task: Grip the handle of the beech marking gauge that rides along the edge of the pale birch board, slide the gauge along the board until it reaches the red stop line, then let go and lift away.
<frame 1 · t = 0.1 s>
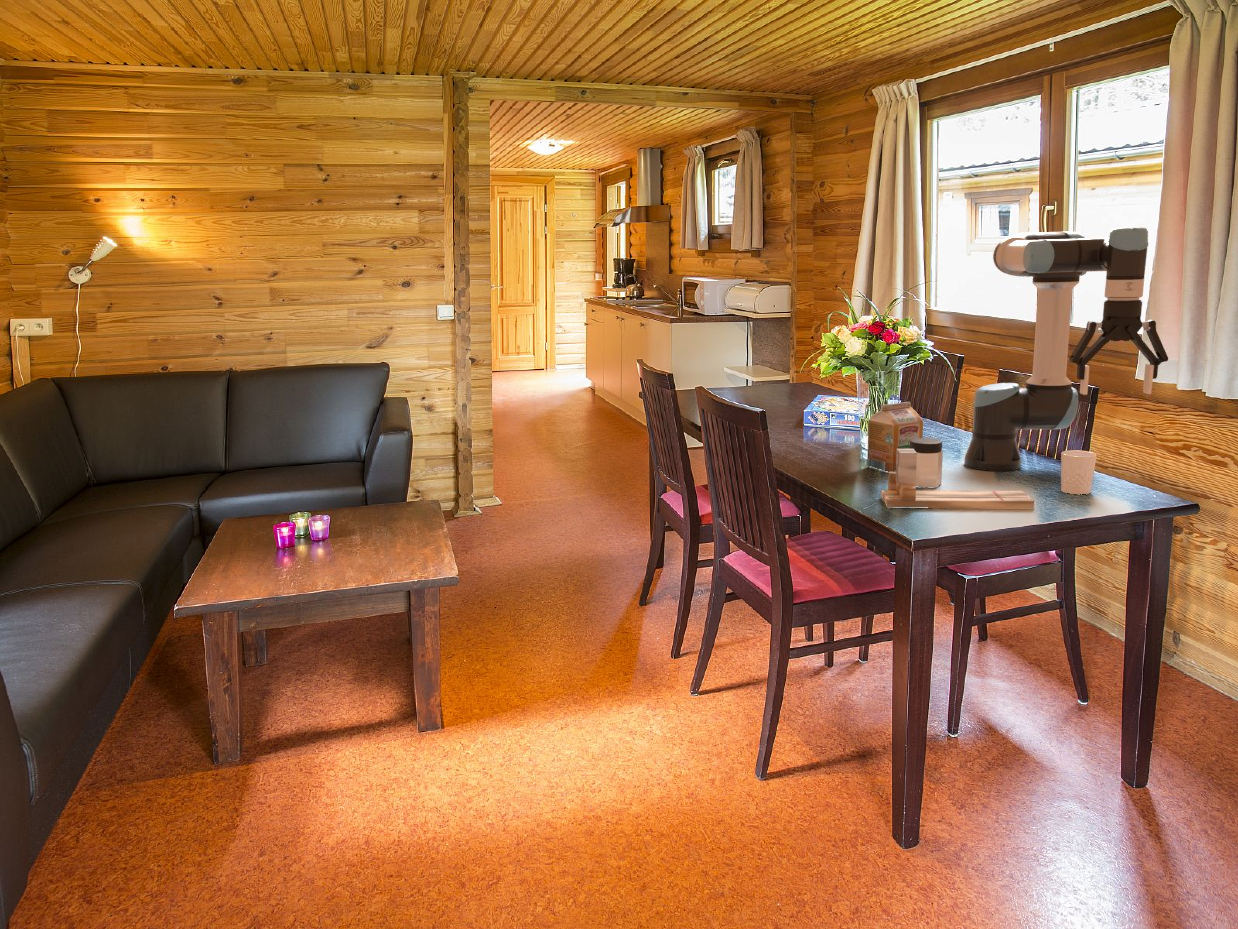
hand: (1115, 393, 211), 28 cm above the table, tool pointing down, fingers open, 13 cm apart
board: (955, 503, 229), on the table
gauge: (905, 475, 230), point 7 cm above the table, slide at 0.0 cm
jar: (924, 485, 248), on the table
milk carton: (893, 469, 267), on the table
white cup: (1075, 492, 236), on the table
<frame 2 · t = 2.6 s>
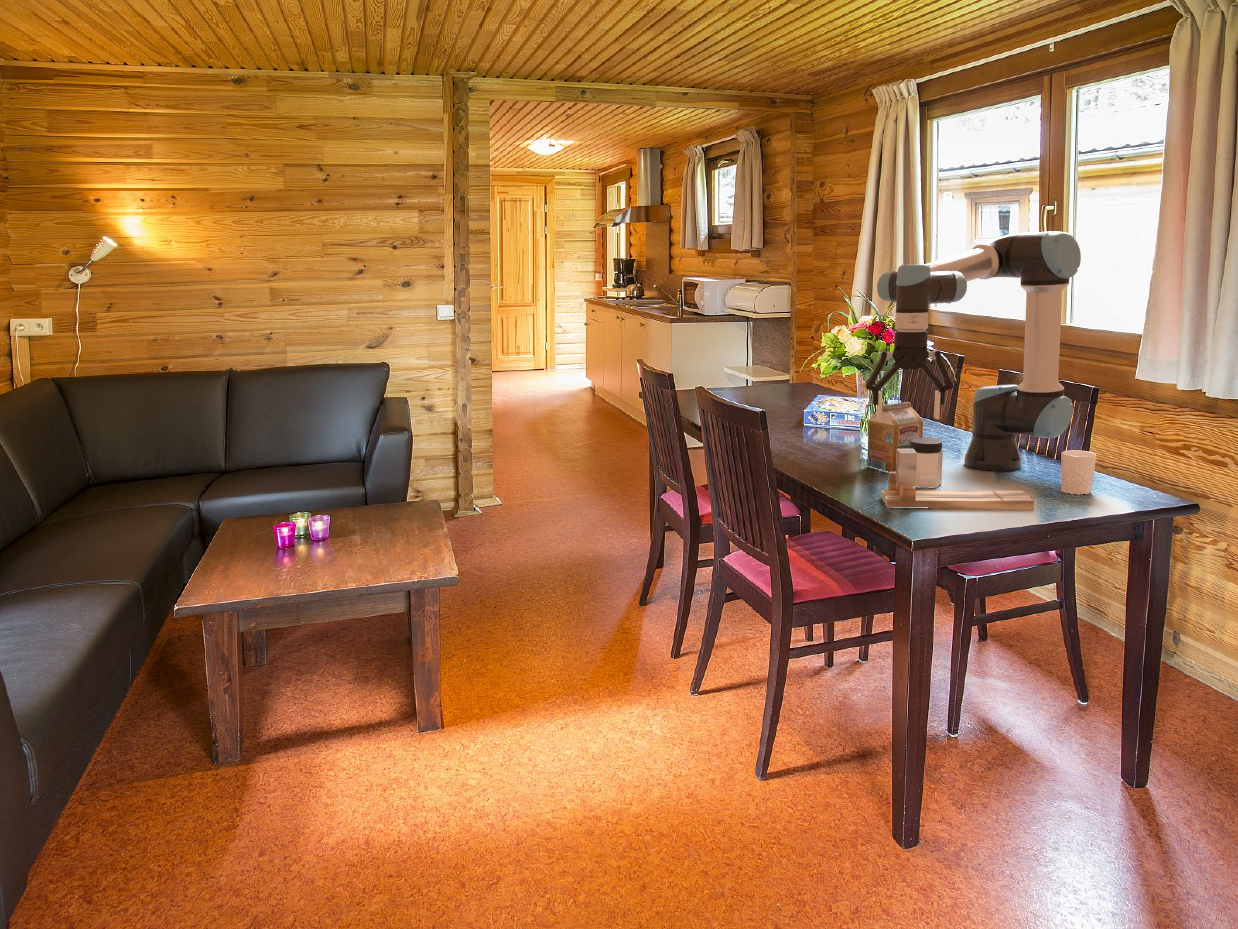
hand: (907, 418, 226), 21 cm above the table, tool pointing down, fingers open, 13 cm apart
nothing on the table moved.
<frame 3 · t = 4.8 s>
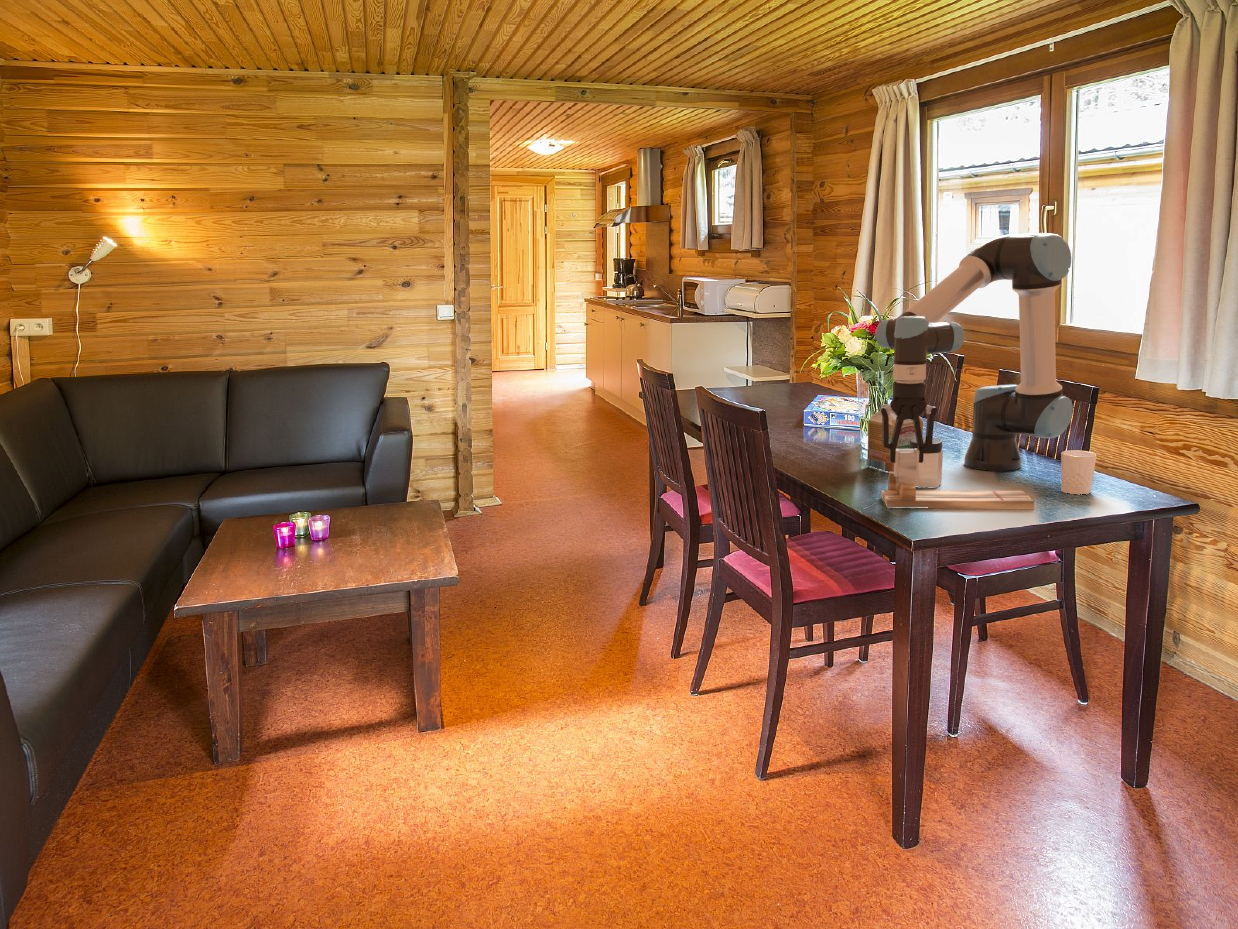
hand: (905, 475, 229), 7 cm above the table, tool pointing down, fingers closed on gauge, 4 cm apart
gauge: (905, 475, 230), point 7 cm above the table, slide at 0.0 cm, touching gripper
everything else where it was.
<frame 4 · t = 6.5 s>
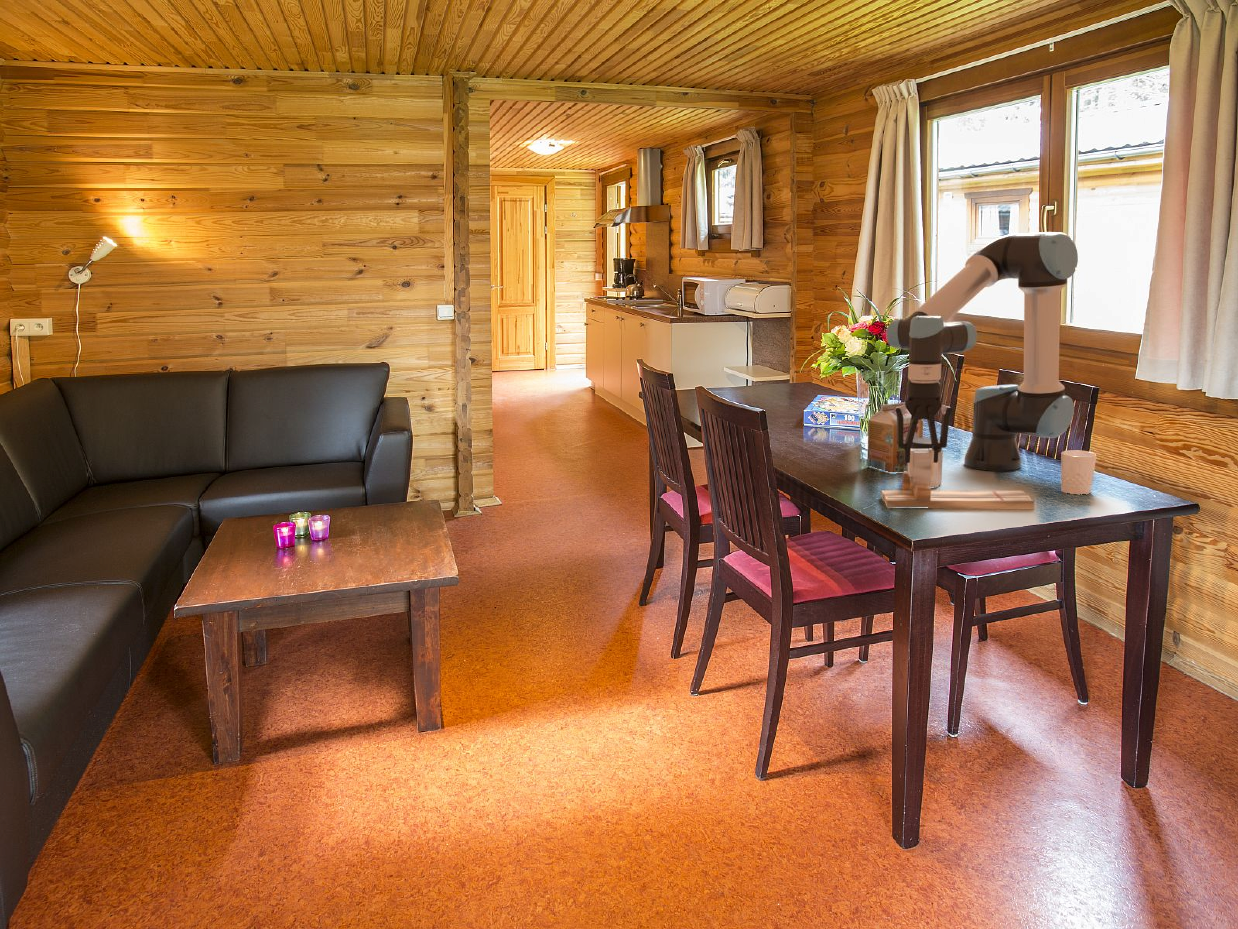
hand: (920, 475, 229), 7 cm above the table, tool pointing down, fingers closed on gauge, 4 cm apart
gauge: (919, 475, 229), point 7 cm above the table, slide at 3.5 cm, touching gripper
everything else where it was.
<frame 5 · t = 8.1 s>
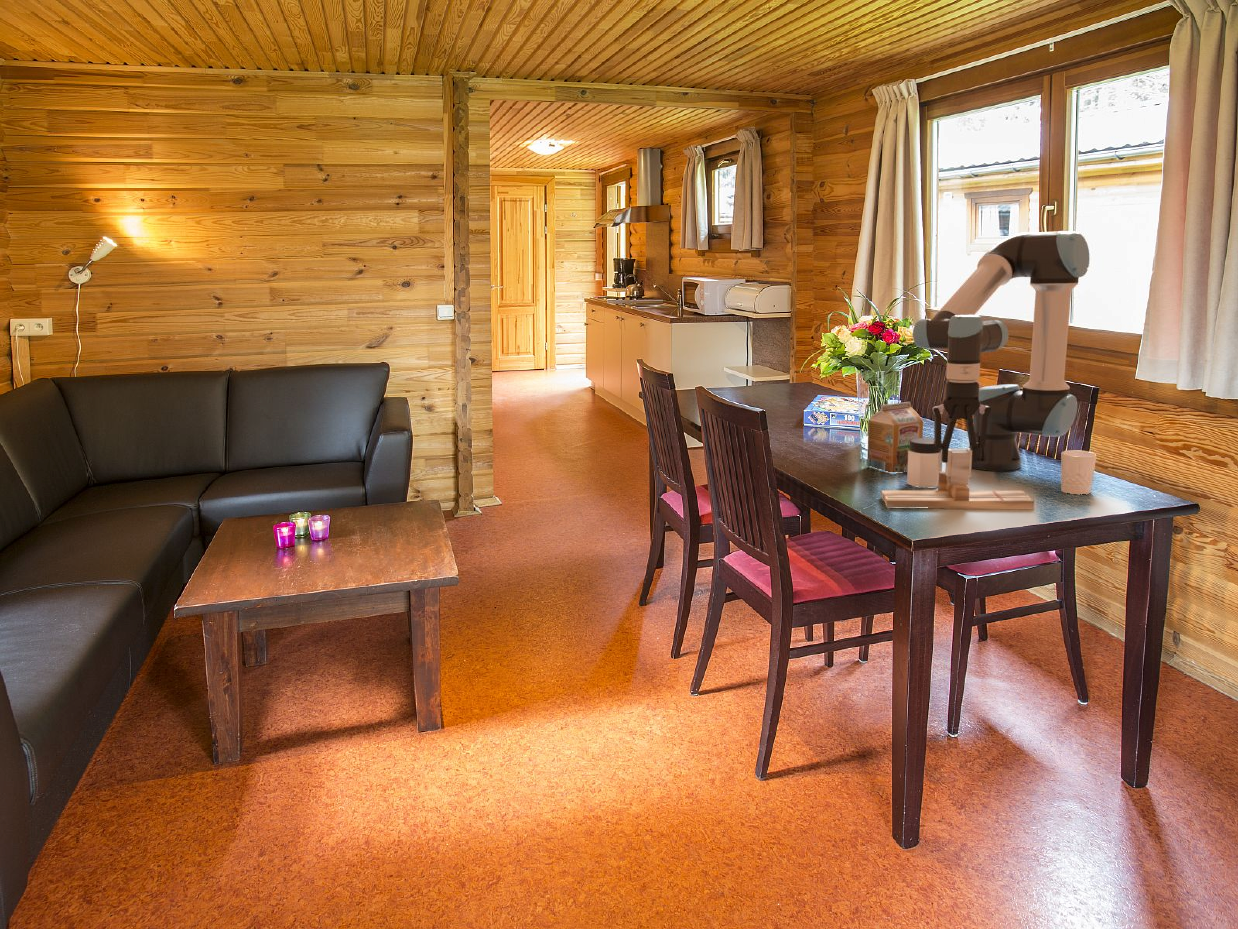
hand: (957, 475, 227), 7 cm above the table, tool pointing down, fingers closed on gauge, 4 cm apart
gauge: (957, 475, 228), point 7 cm above the table, slide at 12.4 cm, touching gripper
everything else where it was.
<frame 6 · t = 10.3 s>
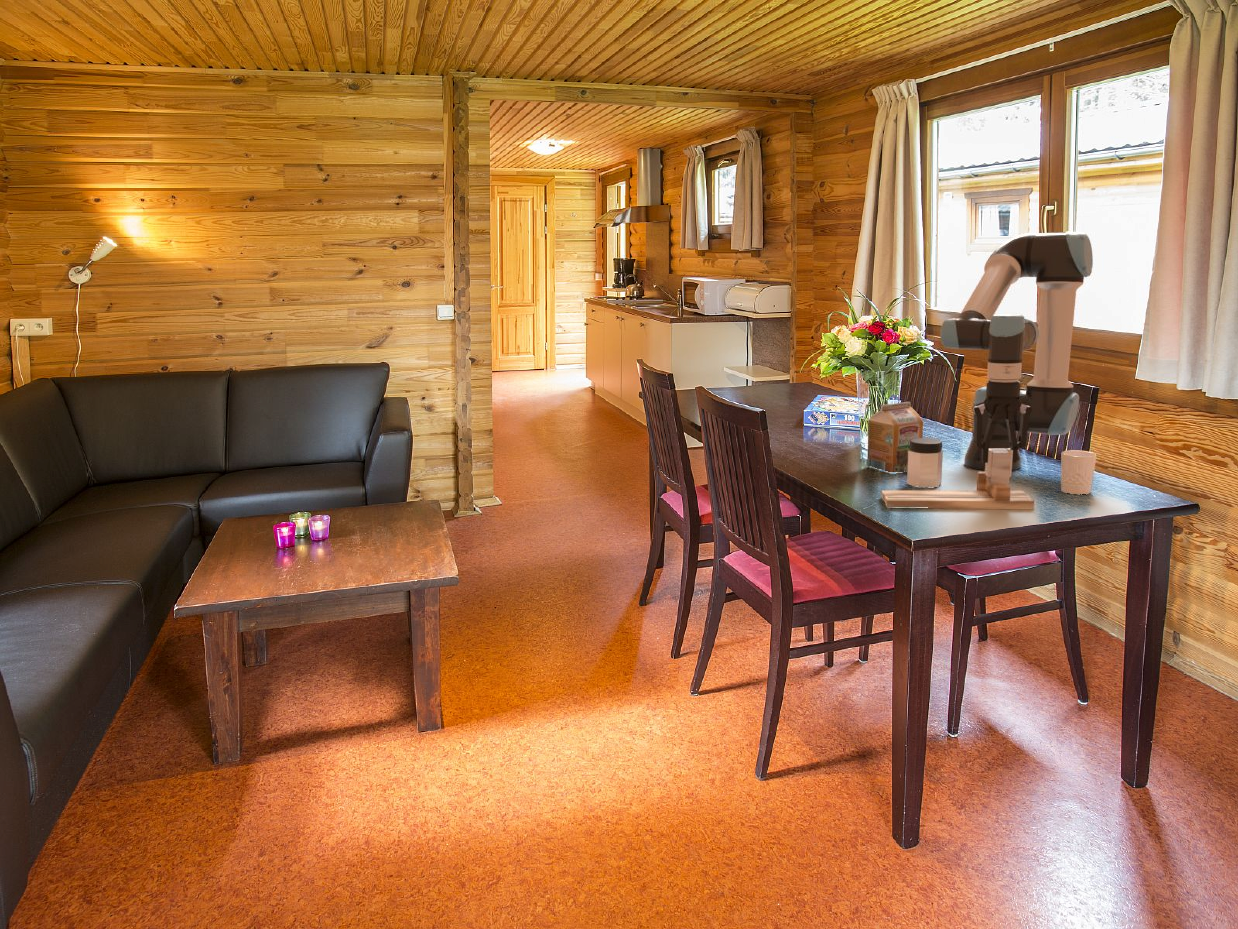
hand: (997, 475, 226), 7 cm above the table, tool pointing down, fingers closed on gauge, 4 cm apart
gauge: (997, 475, 227), point 7 cm above the table, slide at 21.7 cm, touching gripper
everything else where it was.
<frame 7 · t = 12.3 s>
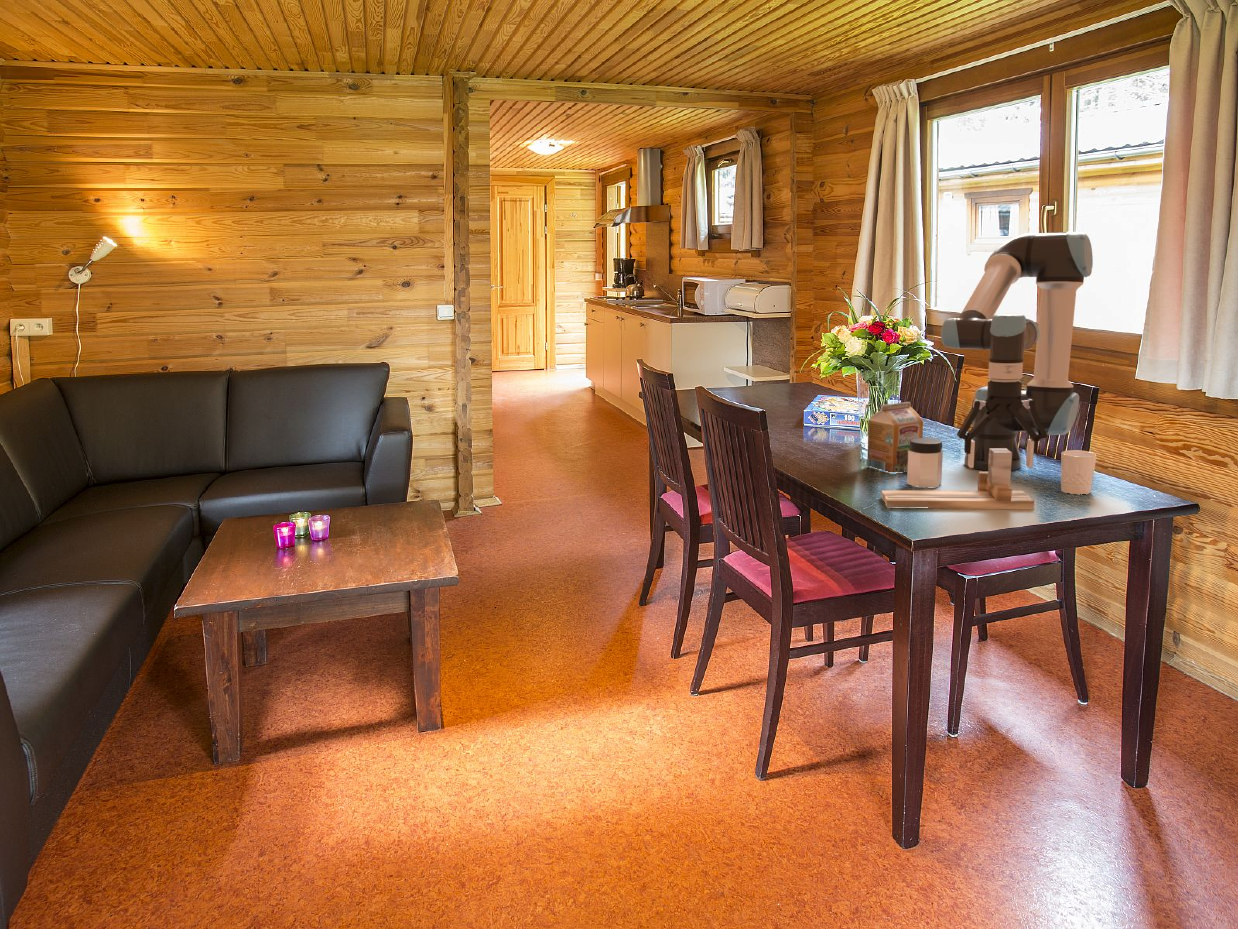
hand: (999, 466, 226), 9 cm above the table, tool pointing down, fingers open, 13 cm apart
gauge: (998, 475, 227), point 7 cm above the table, slide at 22.0 cm
everything else where it was.
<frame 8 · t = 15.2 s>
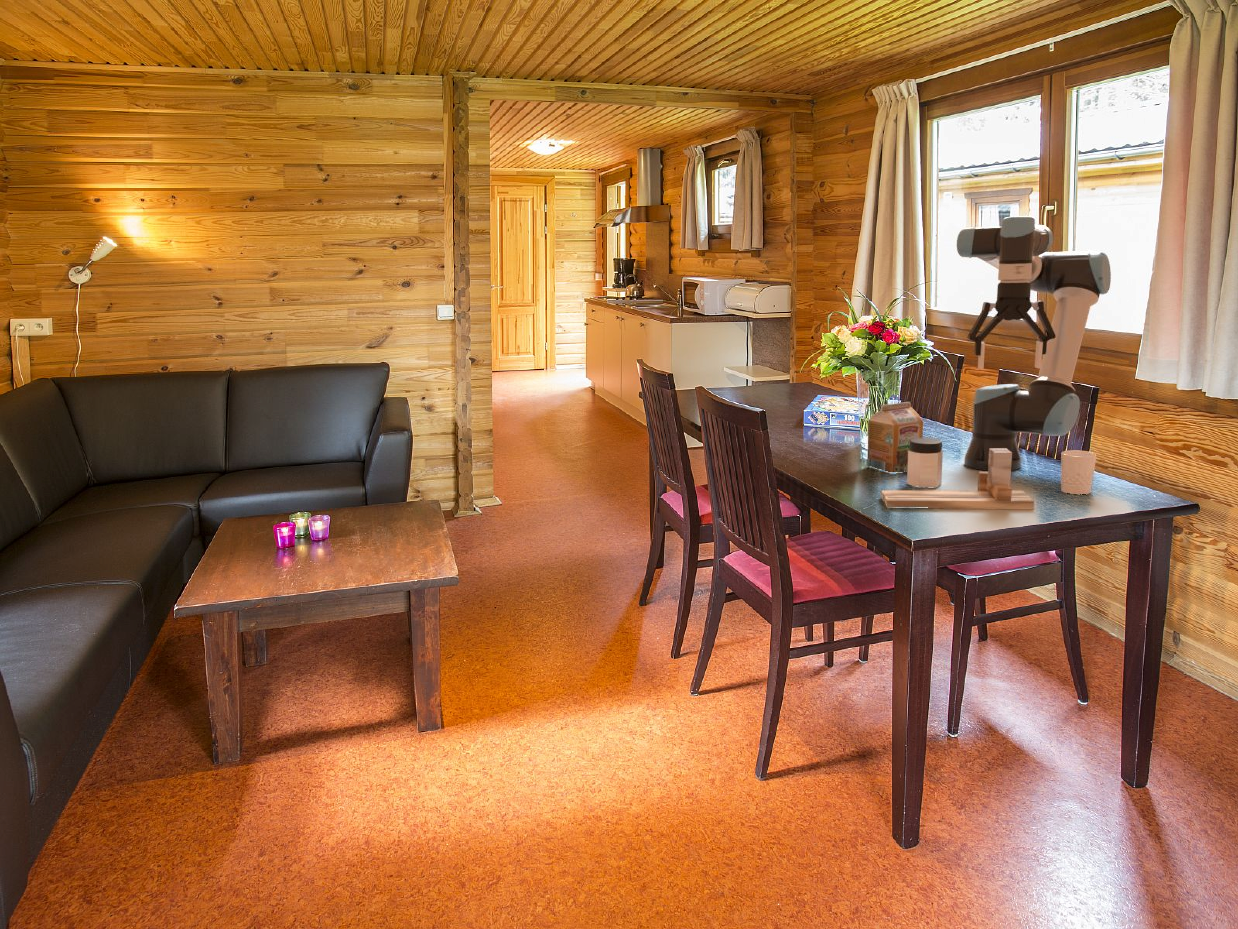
hand: (1009, 368, 232), 32 cm above the table, tool pointing down, fingers open, 13 cm apart
nothing on the table moved.
at the end: gauge slide at 22.0 cm; the gripper is holding nothing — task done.
